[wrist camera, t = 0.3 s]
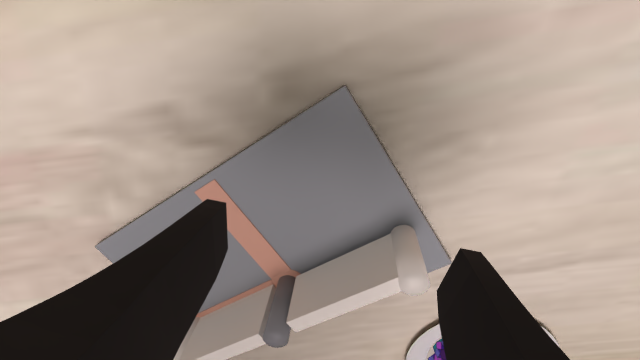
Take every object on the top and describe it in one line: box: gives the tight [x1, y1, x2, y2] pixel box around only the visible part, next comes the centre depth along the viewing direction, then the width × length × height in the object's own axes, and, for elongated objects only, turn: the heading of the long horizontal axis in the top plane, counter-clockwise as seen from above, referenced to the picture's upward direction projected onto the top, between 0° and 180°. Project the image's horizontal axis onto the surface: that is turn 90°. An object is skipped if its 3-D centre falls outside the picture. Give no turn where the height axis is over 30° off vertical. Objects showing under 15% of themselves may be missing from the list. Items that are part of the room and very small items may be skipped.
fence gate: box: [286, 225, 430, 333], centre depth 20 cm, size 9×2×4 cm, turn 123°
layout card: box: [95, 85, 452, 317], centre depth 23 cm, size 22×14×1 cm, turn 123°
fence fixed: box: [173, 275, 296, 360], centre depth 24 cm, size 11×2×5 cm, turn 123°
